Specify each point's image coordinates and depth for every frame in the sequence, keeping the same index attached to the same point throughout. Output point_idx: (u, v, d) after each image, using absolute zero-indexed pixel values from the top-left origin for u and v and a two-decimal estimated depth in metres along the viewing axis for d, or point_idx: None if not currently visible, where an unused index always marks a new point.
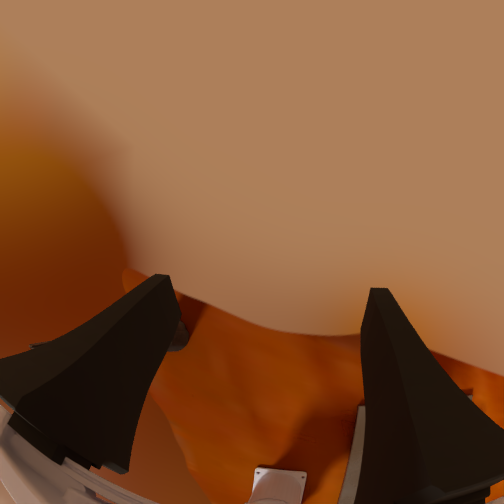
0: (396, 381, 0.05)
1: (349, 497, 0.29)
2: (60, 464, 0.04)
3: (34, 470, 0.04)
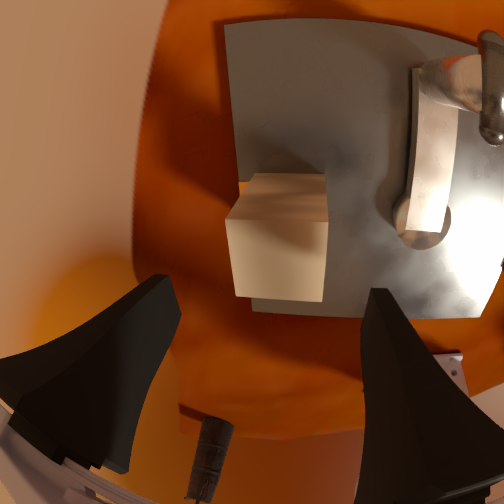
0: (396, 381, 0.05)
1: (459, 304, 0.18)
2: (60, 464, 0.04)
3: (34, 470, 0.04)
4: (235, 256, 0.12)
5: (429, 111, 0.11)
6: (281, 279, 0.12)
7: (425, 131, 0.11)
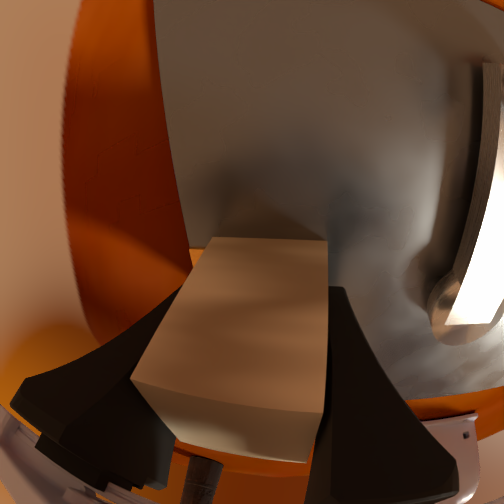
0: (330, 381, 0.06)
1: (486, 378, 0.12)
2: None
3: (34, 470, 0.04)
4: (164, 415, 0.06)
5: None
6: (241, 445, 0.06)
7: (503, 179, 0.05)
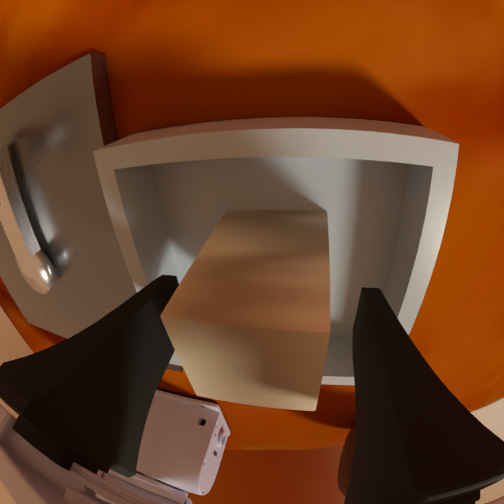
0: (384, 381, 0.05)
1: None
2: None
3: (34, 470, 0.04)
4: (186, 359, 0.08)
5: None
6: (256, 389, 0.08)
7: None
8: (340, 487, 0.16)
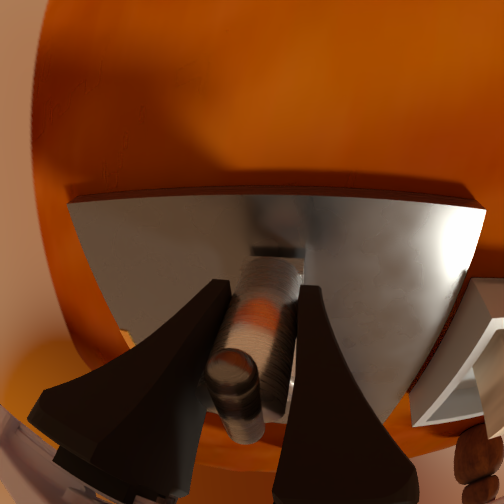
0: None
1: None
2: None
3: (34, 470, 0.04)
4: None
5: None
6: None
7: None
8: (460, 478, 0.16)
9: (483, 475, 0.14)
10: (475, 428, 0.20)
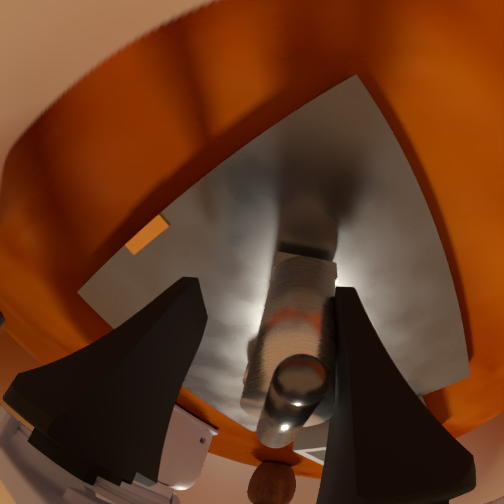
0: (347, 381, 0.05)
1: (244, 417, 0.22)
2: None
3: (34, 470, 0.04)
4: None
5: None
6: None
7: None
8: (255, 497, 0.27)
9: None
10: (281, 465, 0.32)
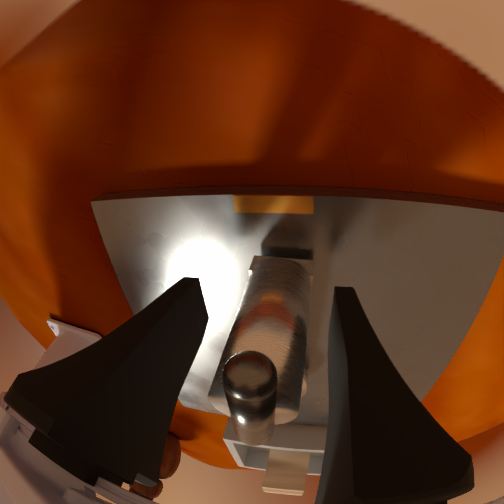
0: (345, 381, 0.06)
1: (190, 394, 0.21)
2: None
3: (34, 470, 0.04)
4: (285, 489, 0.19)
5: None
6: (274, 491, 0.21)
7: None
8: None
9: None
10: (173, 437, 0.33)
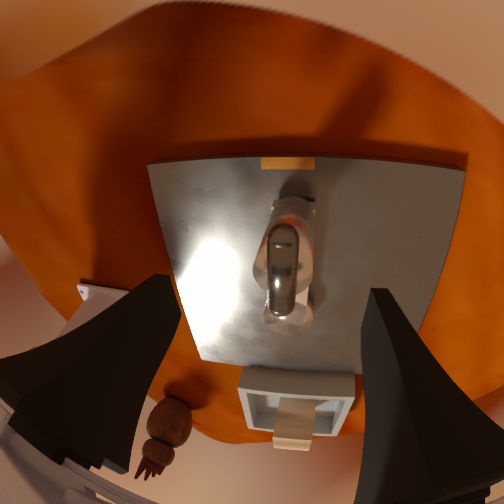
0: (396, 381, 0.05)
1: (210, 343, 0.26)
2: (60, 464, 0.04)
3: (34, 470, 0.04)
4: (294, 439, 0.24)
5: None
6: (284, 444, 0.25)
7: None
8: (157, 430, 0.32)
9: (171, 443, 0.32)
10: (185, 405, 0.37)
